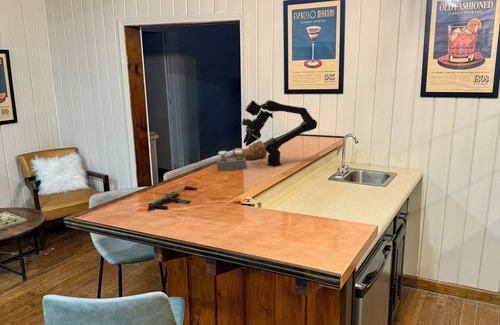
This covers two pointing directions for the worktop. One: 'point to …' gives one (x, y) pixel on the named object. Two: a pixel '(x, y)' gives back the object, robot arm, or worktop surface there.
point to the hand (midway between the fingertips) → (244, 144)
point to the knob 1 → (223, 155)
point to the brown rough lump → (253, 151)
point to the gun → (169, 200)
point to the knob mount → (231, 164)
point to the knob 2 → (238, 153)
